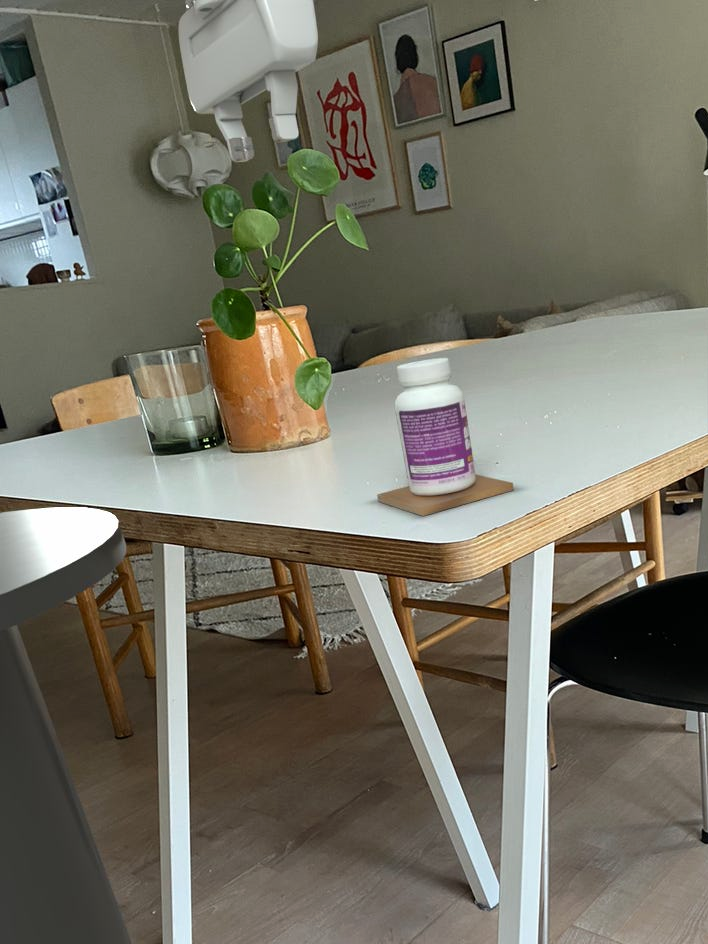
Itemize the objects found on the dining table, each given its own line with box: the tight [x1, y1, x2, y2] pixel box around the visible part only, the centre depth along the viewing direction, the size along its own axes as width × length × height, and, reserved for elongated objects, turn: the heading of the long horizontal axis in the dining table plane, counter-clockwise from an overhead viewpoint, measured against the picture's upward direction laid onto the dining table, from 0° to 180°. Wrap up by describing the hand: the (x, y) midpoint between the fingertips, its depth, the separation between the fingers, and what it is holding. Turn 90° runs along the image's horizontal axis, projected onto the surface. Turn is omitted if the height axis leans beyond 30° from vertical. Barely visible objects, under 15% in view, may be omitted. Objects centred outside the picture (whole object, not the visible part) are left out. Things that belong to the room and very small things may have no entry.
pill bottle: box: [394, 357, 476, 496], centre depth 71 cm, size 5×5×10 cm
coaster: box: [376, 474, 514, 517], centre depth 73 cm, size 8×8×1 cm
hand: (264, 151), depth 81 cm, fingers open, 8 cm apart
